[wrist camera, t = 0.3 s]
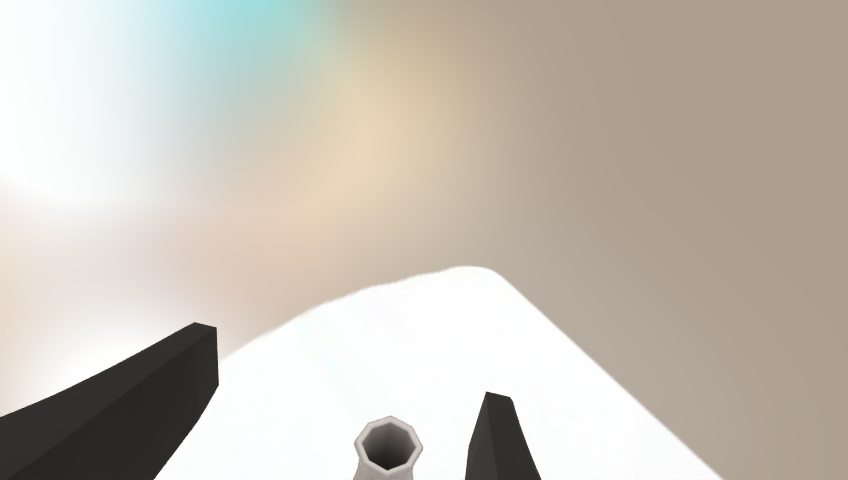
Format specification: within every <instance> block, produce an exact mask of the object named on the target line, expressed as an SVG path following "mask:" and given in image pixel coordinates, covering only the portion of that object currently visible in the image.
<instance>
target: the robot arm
mask: <svg viewBox="0 0 848 480" xmlns="http://www.w3.org/2000/svg"><path fill="white" fill-rule="evenodd" d="M216 329H217V328H216V327H212V326H208V325H204V324H200V323H195V322H194V323H193V324H190V325H188V326H187V327H184V328H183V329H181V330H179V331H177V332H175V333H173V334H172V335H170V336H168V337H166V338H164V339H162V340H161V341H159V342H157V343H155V344H153V345H152V346H150V347H148V348H146V349H144V350H142V351H141V352H139V353H137V354H135V355H133V356H131V357H129V358H127V359H126V360H124V361H122V362H120V363H118V364H116V365H114V366H112V367H110V368H108V369H106V370H104V371H102V372H100V373H98V374H96V375H94V376H92V377H90V378H88V379H86V380H84V381H82V382H80V383H78V384H76V385H74V386H72V387H70V388H68V389H66V390H63V391H61V392H59V393H57V394H55V395H53V396H50V397H48V398H46V399H43V400H41V401H39V402H36V403H34V404H32V405H29V406H27V407H25V408H22V409H19V410H17V411H15V412H12V413H10V414H7V415H5V416H2V417H0V480H154V479H155V477H156V476H157V475H158V473H159V472H160V471H161V469H162V468H163V467H164V465H165V464H166V463H167V461H168V460H169V459H170V458H171V456H172V455H173V454H174V452H175V451H176V450H177V448H178V447H179V446H180V444H181V443H182V442H183V440H184V439H185V438H186V436H187V435H188V434H189V432H190V431H191V430H192V428H193V427H194V426H195V424H196V423H197V421H198V420H199V418H200V417H201V415H202V413H203V412H204V410H205V408H206V407H207V405H208V403H209V402H210V400H211V398H212V396H213V394H214V393H215V391H216V389H217V387H218V386H219V378H218V354H217V330H216ZM465 480H541V478H540V475H539V473H538V471H537V468H536V466H535V463H534V461H533V459H532V456H531V453H530V451H529V448H528V446H527V443H526V440H525V437H524V435H523V432H522V429H521V426H520V423H519V420H518V417H517V414H516V411H515V407H514V404H513V401H512V400H511V398H510V397H507V396H503V395H499V394H495V393H490V392H486V394H485V397H484V400H483V403H482V406H481V410H480V413H479V416H478V419H477V422H476V425H475V428H474V432H473V435H472V438H471V441H470V444H469V449H468V458H467V466H466V475H465Z"/></svg>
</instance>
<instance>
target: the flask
mask: <svg viewBox="0 0 848 480" xmlns="http://www.w3.org/2000/svg"><path fill="white" fill-rule="evenodd" d="M354 446H355V449H356V451H357V454H358V456H359V463H358V468H357V471H356V473H355V476H354V478H353V480H413V472H412V471H413V466H414V464H415V462H416V461H417V459H418V457H419V455H420V454H421V452H422V450H423V446H422V444H421V442H420V440H419V438H418V436H417V435H416V433H415V431H414V429H413V427H412V426H410V425H408V424H406V423H404V422H403V421H401V420H399V419H397V418H395V417H393V416H388V417H385V418H382V419H379V420H376V421H373V422H369V423H368V424H367V425H366V427H365V428H364V429H363V431H362V432H361V433H360V435H359V436H358V437H357V439H356V440H355V442H354Z"/></svg>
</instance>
